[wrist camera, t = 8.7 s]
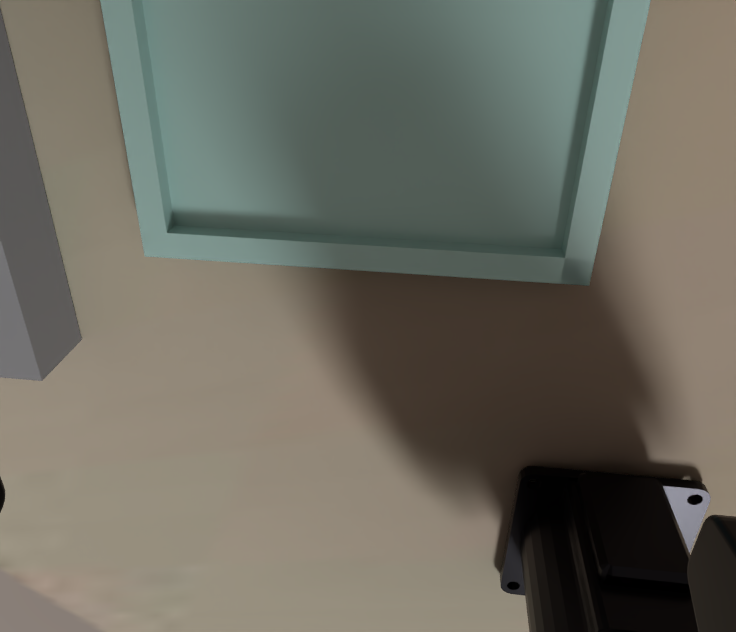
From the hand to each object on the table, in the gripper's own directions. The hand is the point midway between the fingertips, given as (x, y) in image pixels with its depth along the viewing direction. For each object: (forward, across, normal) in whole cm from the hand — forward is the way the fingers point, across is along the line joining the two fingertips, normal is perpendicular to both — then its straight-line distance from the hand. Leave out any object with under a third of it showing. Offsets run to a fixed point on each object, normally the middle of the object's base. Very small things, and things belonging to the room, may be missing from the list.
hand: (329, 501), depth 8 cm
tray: (+12, +1, -3) cm, 12 cm away
